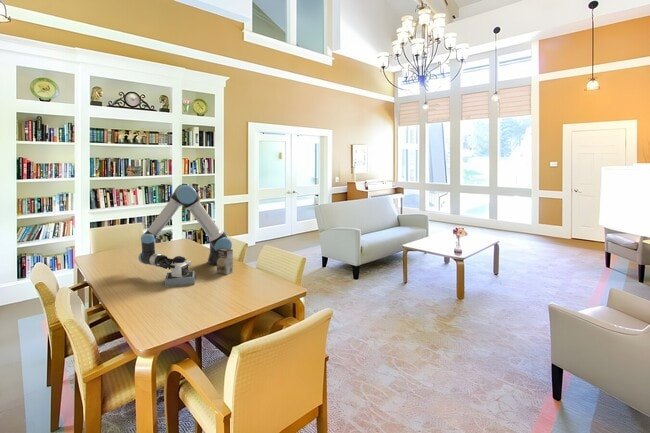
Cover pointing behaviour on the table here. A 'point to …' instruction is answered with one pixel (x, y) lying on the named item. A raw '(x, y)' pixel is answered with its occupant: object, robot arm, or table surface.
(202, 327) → the table surface
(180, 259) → the medicine bottle
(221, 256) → the coffee box
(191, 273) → the tote
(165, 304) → the table surface
